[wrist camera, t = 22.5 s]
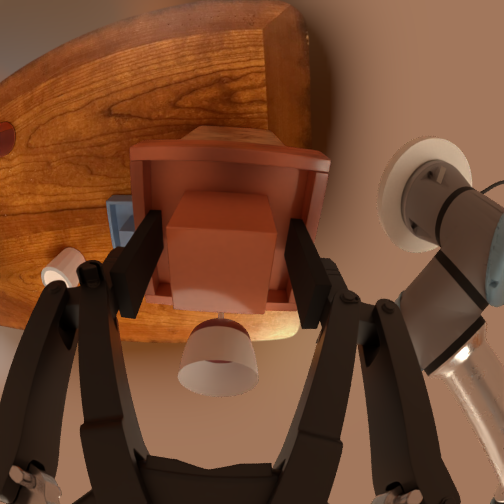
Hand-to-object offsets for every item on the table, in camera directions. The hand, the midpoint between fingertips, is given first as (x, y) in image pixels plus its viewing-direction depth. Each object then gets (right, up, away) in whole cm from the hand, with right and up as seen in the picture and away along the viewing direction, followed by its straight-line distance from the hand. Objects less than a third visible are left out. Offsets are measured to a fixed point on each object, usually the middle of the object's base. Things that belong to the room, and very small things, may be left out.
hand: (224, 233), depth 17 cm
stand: (-1, +11, +17) cm, 21 cm away
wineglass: (-3, -4, +27) cm, 27 cm away
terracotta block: (0, 0, 0) cm, 1 cm away
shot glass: (-30, -3, +25) cm, 39 cm away
